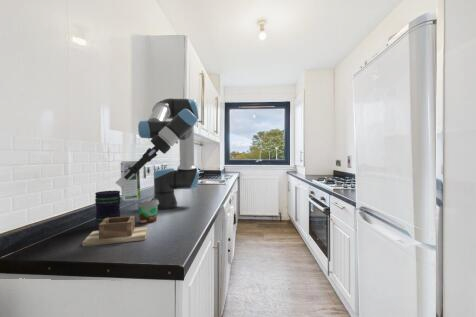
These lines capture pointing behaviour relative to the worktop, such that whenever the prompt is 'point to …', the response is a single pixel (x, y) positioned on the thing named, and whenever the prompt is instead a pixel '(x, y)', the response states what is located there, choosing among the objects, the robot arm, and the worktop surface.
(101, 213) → the storage jar
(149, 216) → the food container
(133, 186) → the syrup box
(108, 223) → the box
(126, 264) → the worktop surface
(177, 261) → the worktop surface
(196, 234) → the worktop surface
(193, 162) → the robot arm
